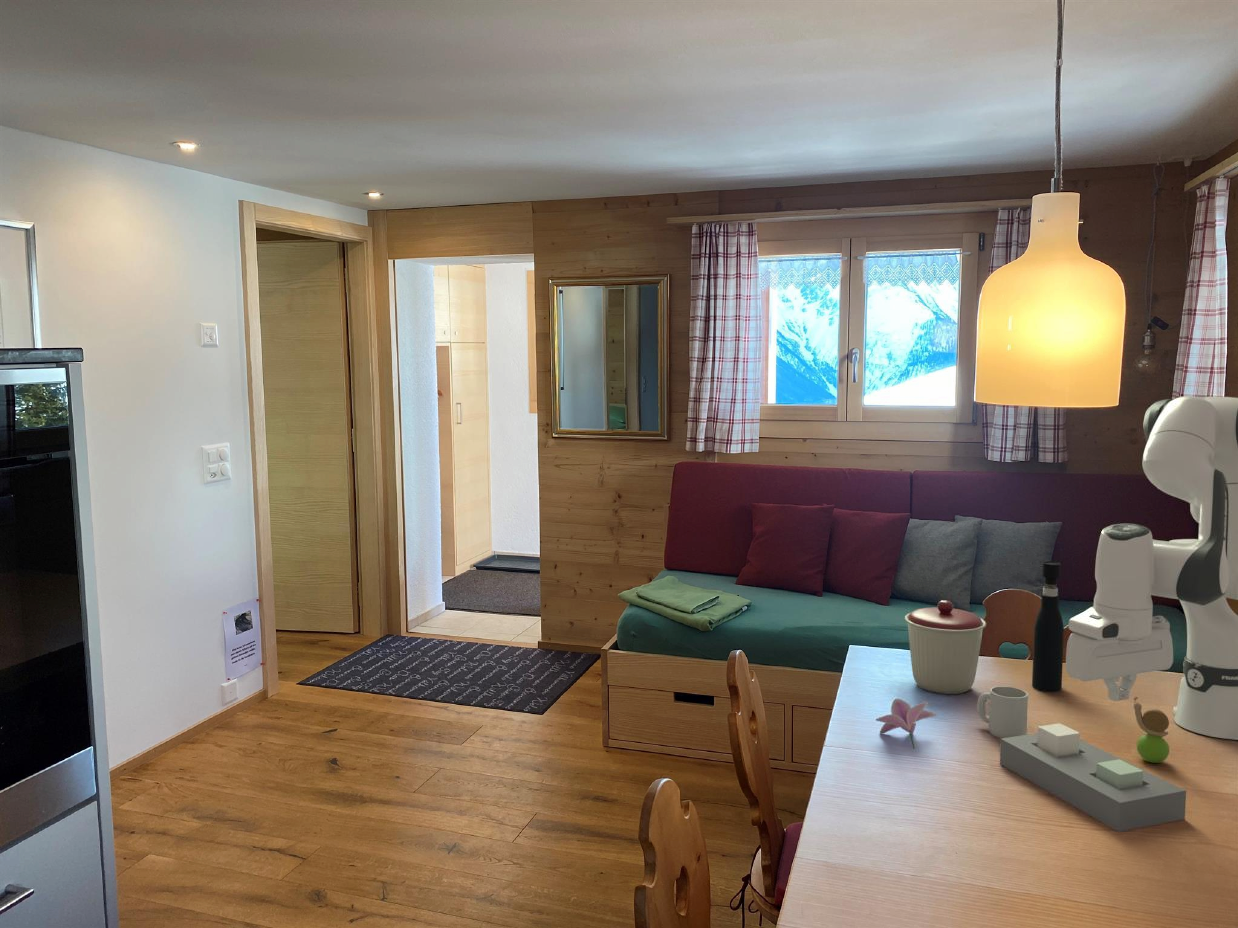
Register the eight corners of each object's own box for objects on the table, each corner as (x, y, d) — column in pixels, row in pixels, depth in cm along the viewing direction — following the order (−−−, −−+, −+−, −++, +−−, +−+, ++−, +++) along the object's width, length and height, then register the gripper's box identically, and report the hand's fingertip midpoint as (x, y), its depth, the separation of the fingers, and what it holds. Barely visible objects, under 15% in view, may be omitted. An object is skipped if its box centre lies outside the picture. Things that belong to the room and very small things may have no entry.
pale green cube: (1118, 786, 163) (1119, 759, 163) (1141, 798, 159) (1143, 770, 158) (1095, 790, 162) (1096, 762, 161) (1118, 803, 157) (1119, 774, 157)
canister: (977, 677, 228) (980, 593, 226) (989, 703, 210) (992, 612, 208) (900, 672, 232) (902, 589, 230) (906, 697, 215) (908, 608, 212)
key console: (1059, 754, 182) (1060, 729, 182) (1184, 818, 156) (1186, 790, 155) (999, 763, 178) (1000, 738, 178) (1118, 831, 152) (1119, 802, 151)
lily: (945, 744, 190) (932, 697, 194) (940, 741, 180) (926, 692, 184) (887, 755, 194) (875, 708, 198) (879, 753, 184) (866, 704, 188)
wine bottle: (1066, 691, 217) (1071, 565, 214) (1038, 692, 217) (1043, 565, 214) (1054, 682, 224) (1059, 560, 221) (1027, 682, 224) (1031, 560, 221)
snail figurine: (1135, 751, 183) (1138, 692, 182) (1172, 761, 179) (1175, 700, 177) (1126, 760, 179) (1129, 699, 178) (1163, 770, 175) (1166, 708, 174)
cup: (1019, 743, 188) (1021, 700, 187) (970, 731, 194) (971, 689, 194) (1031, 732, 193) (1032, 691, 192) (982, 721, 200) (984, 680, 199)
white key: (1058, 748, 176) (1059, 723, 176) (1078, 758, 172) (1079, 732, 171) (1036, 752, 175) (1037, 726, 174) (1056, 762, 170) (1057, 736, 170)
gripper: (1153, 610, 164) (1149, 685, 166) (1060, 621, 158) (1057, 699, 159) (1185, 619, 158) (1181, 697, 160) (1090, 630, 152) (1086, 712, 154)
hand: (1118, 698), depth 160 cm, fingers closed
